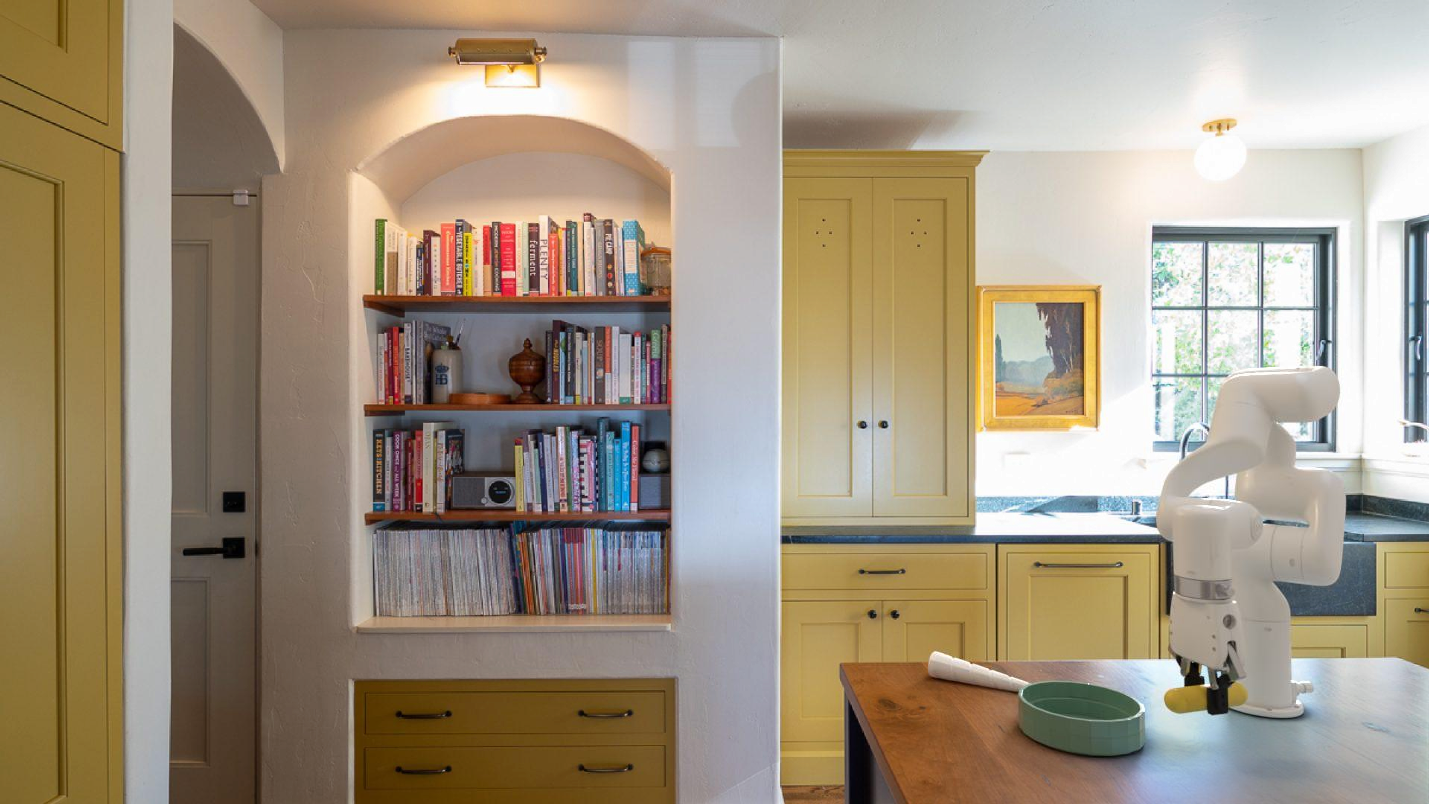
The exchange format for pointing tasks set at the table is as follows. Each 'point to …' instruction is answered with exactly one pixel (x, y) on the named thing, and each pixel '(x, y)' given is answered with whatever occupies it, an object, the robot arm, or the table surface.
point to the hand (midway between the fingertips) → (1206, 707)
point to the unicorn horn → (970, 673)
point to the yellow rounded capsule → (1200, 698)
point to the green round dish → (1081, 718)
